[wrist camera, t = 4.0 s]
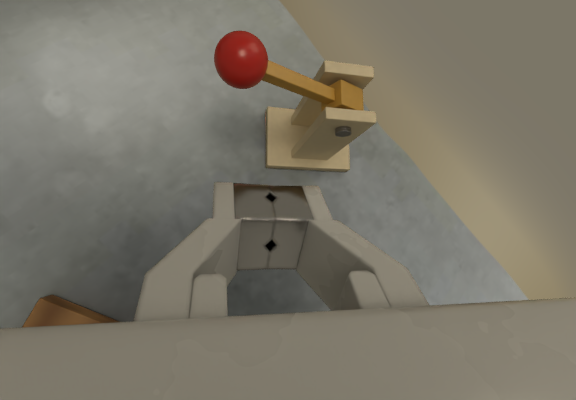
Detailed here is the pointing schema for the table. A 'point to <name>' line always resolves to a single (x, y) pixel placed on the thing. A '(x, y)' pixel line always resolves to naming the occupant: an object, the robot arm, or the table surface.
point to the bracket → (318, 126)
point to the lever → (276, 73)
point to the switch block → (62, 314)
